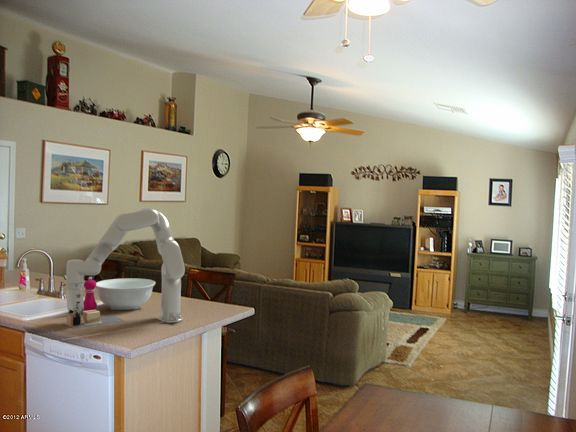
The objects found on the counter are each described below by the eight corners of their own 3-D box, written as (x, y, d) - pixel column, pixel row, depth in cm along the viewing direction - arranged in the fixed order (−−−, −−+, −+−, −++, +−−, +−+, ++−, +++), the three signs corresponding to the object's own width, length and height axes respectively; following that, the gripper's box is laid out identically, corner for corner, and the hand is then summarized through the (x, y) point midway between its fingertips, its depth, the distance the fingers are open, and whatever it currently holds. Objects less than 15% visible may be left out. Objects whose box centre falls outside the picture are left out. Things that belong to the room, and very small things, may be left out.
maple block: (99, 322, 234) (100, 311, 234) (87, 324, 230) (87, 313, 230) (95, 319, 238) (95, 309, 238) (82, 321, 234) (83, 311, 234)
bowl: (80, 311, 259) (81, 284, 258) (118, 300, 290) (119, 276, 289) (132, 317, 249) (133, 289, 249) (166, 305, 280) (166, 280, 280)
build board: (125, 323, 238) (125, 320, 238) (72, 330, 222) (72, 328, 222) (113, 317, 249) (113, 315, 249) (62, 324, 232) (62, 322, 232)
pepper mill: (87, 317, 247) (88, 278, 247) (78, 315, 251) (79, 276, 250) (99, 314, 253) (100, 276, 253) (91, 312, 257) (91, 275, 257)
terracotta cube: (81, 324, 229) (81, 314, 228) (70, 326, 225) (70, 315, 225) (77, 322, 232) (77, 312, 232) (66, 324, 229) (66, 313, 229)
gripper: (89, 288, 224) (88, 326, 225) (76, 282, 237) (75, 318, 238) (72, 289, 219) (72, 328, 220) (60, 283, 232) (59, 320, 233)
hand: (74, 323), depth 229 cm, fingers open, 6 cm apart
